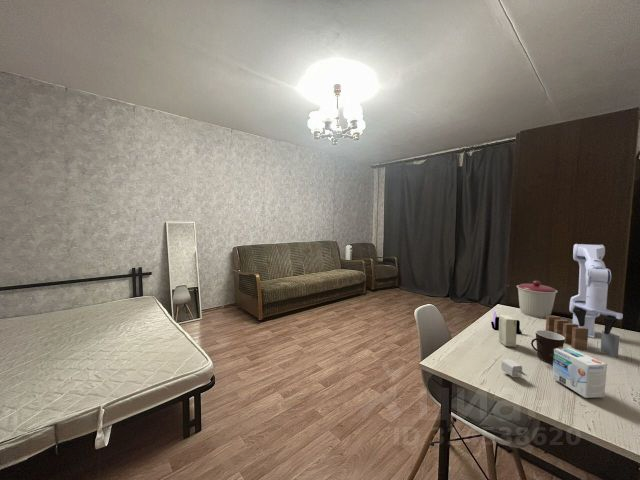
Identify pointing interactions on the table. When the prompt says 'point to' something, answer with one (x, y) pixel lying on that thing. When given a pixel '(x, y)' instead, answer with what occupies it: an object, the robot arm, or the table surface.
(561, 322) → the domino
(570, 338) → the domino
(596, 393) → the light bulb box
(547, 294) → the canister
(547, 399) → the table surface
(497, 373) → the table surface
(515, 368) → the usb wall charger
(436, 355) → the table surface
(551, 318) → the domino
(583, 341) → the domino
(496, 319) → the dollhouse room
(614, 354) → the domino
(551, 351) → the coffee mug
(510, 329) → the skincare box
